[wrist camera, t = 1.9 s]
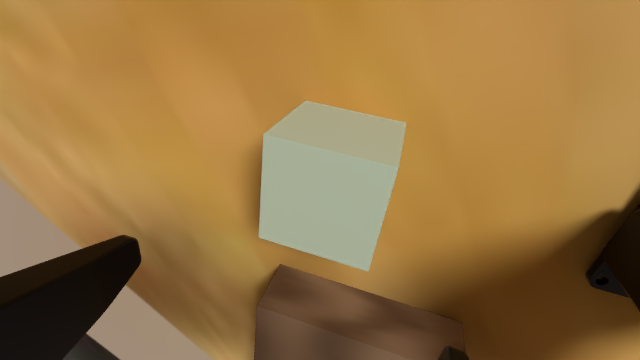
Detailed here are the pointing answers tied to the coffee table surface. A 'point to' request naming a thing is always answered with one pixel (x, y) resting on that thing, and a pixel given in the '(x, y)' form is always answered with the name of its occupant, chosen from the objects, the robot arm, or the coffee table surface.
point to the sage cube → (329, 181)
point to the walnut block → (344, 323)
